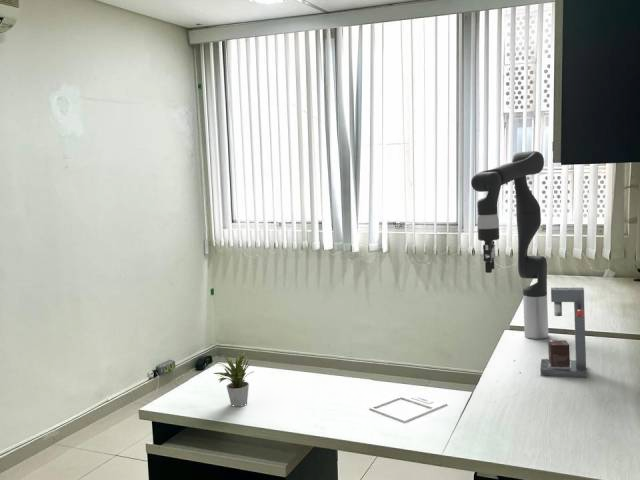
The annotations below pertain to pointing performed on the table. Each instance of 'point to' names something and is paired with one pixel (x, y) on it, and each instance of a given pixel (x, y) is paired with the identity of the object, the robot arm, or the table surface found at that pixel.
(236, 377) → the house plant
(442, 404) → the photo frame
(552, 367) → the press
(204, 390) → the table surface
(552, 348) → the box
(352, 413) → the table surface
